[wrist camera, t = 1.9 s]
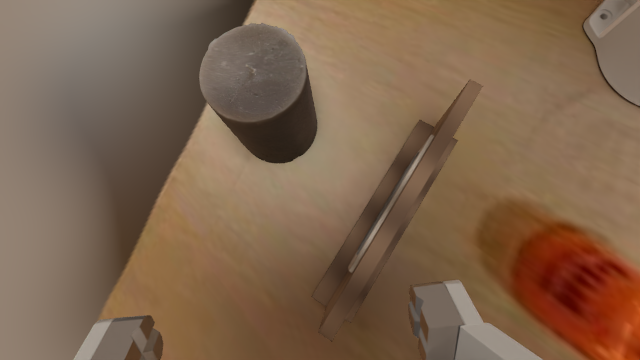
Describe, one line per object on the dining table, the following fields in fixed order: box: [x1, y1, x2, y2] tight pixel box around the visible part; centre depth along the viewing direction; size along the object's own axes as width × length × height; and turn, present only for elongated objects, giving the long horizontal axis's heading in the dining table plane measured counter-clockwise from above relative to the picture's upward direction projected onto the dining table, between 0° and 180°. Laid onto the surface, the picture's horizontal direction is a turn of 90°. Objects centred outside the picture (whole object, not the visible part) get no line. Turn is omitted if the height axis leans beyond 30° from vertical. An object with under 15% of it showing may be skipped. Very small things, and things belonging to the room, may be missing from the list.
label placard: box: [312, 80, 483, 341], centre depth 34 cm, size 24×5×13 cm, turn 148°
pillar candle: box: [199, 23, 317, 163], centre depth 37 cm, size 10×10×15 cm
